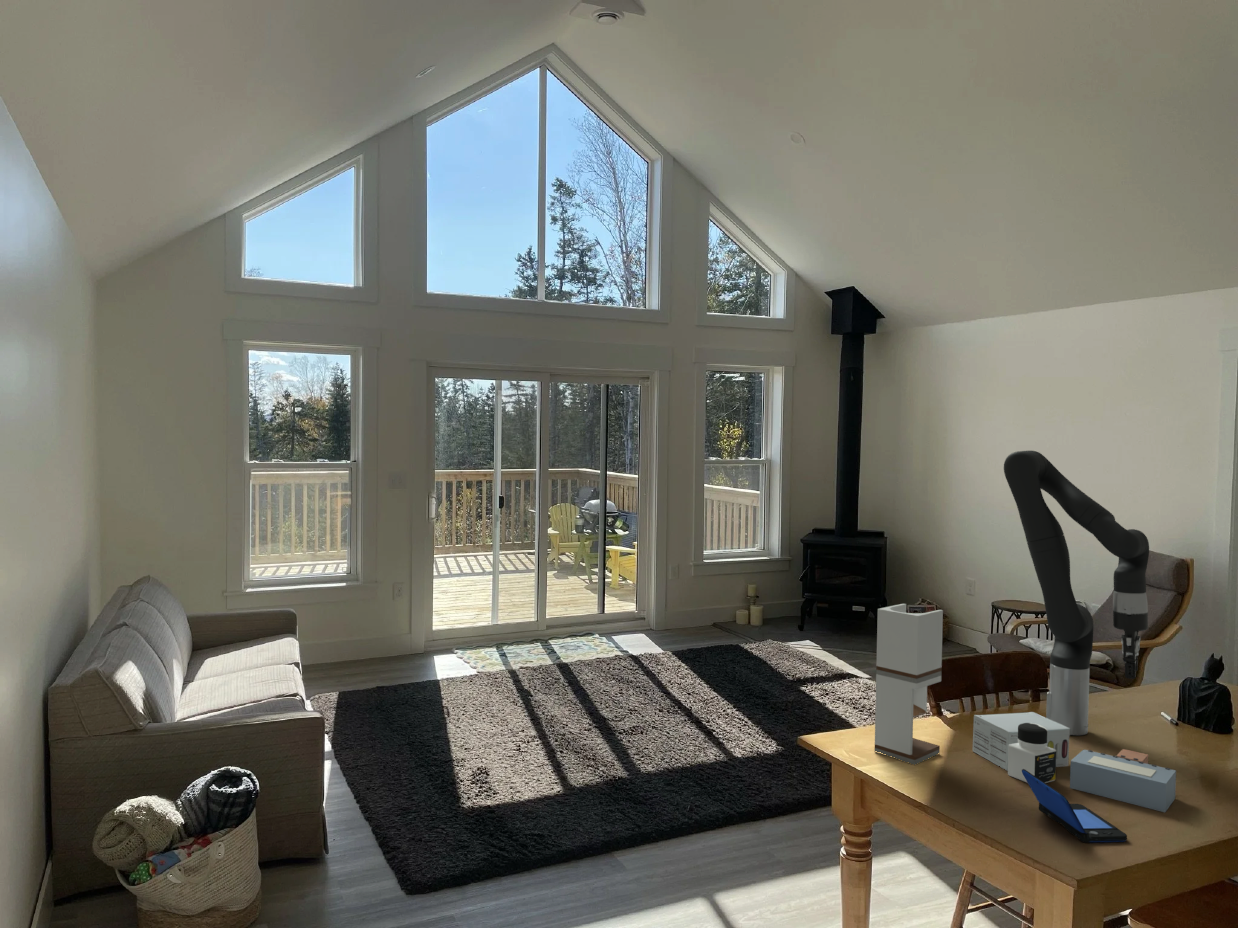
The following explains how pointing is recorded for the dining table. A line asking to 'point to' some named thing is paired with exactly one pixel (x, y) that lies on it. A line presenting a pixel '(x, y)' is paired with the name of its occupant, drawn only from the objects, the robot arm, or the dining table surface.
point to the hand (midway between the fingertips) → (1131, 674)
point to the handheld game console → (1073, 814)
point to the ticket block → (1123, 780)
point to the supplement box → (1015, 736)
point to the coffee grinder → (905, 679)
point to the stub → (1133, 756)
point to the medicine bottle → (1032, 754)
